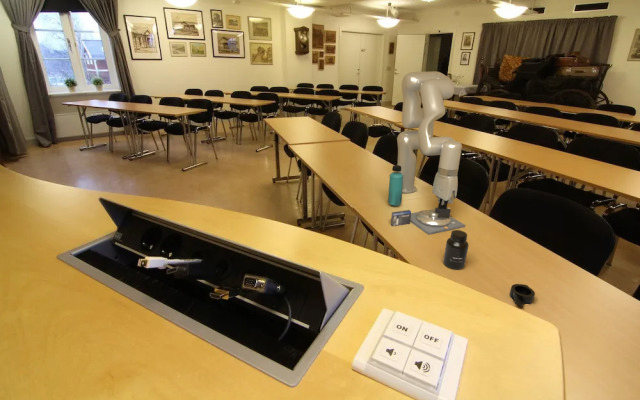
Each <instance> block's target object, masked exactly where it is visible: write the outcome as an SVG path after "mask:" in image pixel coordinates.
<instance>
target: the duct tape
mask: <svg viewBox="0 0 640 400" xmlns="http://www.w3.org/2000/svg"><path fill="white" fill-rule="evenodd" d="M535 296H536V291H534V290H533V289H532V288H531V287H530V286H529V285H527V284H522V283H514V284H512V285H511V287H510V291H509V297H510V299H511V298H512V299H513V302H514V303H515V305H517V306H519V307H521V308H523V307H524V304H529V305H531V304H533V301H534V298H535ZM512 299H511V300H512Z"/></svg>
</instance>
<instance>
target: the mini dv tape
mask: <svg viewBox="0 0 640 400" xmlns="http://www.w3.org/2000/svg"><path fill="white" fill-rule="evenodd" d="M411 213H412V211H411V209H407V210H399V211H392V212H391V220H390V226H391V227H399V226H407V225H410V224H411V222H410V219H411Z"/></svg>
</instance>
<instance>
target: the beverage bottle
mask: <svg viewBox="0 0 640 400" xmlns="http://www.w3.org/2000/svg"><path fill="white" fill-rule="evenodd" d="M391 170H392V171H393V172H391V173H390V174H389V181H388V182H389V183H388V195H387V196H388V198H387V199H388V200H387V203H388V204H389V205H391V206H401V204H402V200H403V193H402V191H403V190H402V188H403V174H402V173H400V171H401V166H399V165H397V164H396V165H393V166H392V168H391Z"/></svg>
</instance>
